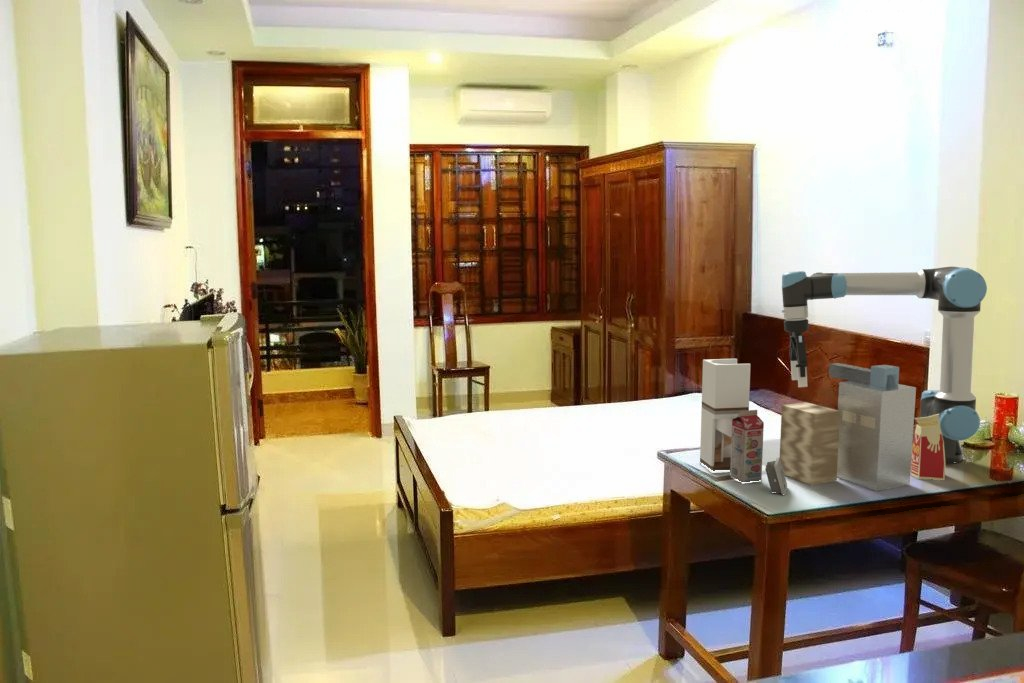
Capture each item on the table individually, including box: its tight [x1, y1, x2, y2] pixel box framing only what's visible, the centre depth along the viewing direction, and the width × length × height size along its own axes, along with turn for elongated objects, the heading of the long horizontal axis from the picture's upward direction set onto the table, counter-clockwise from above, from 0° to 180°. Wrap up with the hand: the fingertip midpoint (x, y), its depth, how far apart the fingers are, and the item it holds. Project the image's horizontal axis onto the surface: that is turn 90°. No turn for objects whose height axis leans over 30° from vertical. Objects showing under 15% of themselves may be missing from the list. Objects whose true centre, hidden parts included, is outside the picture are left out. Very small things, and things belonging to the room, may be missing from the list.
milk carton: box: [910, 414, 947, 481], centre depth 251 cm, size 9×9×20 cm
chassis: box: [837, 380, 917, 492], centre depth 245 cm, size 16×14×30 cm
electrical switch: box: [764, 457, 788, 495], centre depth 238 cm, size 9×5×9 cm, turn 157°
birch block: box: [779, 401, 840, 486], centre depth 250 cm, size 14×10×22 cm
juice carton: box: [729, 409, 765, 482], centre depth 247 cm, size 7×7×22 cm
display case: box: [699, 358, 751, 471], centre depth 259 cm, size 11×11×35 cm
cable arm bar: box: [828, 362, 900, 389], centre depth 248 cm, size 22×6×6 cm, turn 25°
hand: (799, 383), depth 264 cm, fingers open, 13 cm apart
